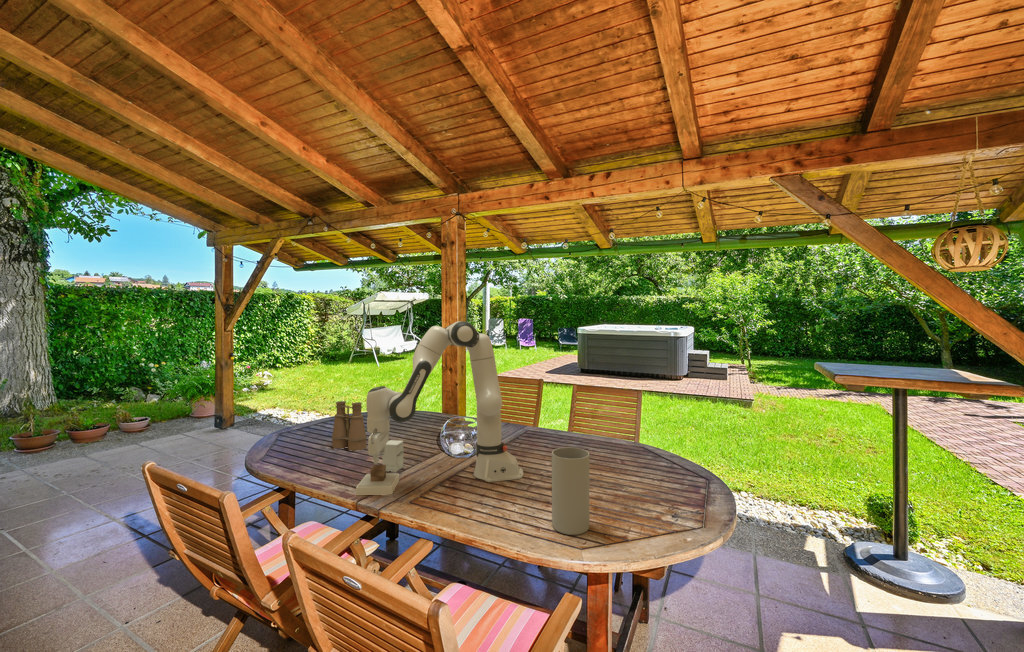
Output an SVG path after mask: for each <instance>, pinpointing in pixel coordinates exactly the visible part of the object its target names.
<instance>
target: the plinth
mask: <svg viewBox="0 0 1024 652" xmlns="http://www.w3.org/2000/svg"><path fill="white" fill-rule="evenodd" d="M398 482H399V483H400V473H398V472H386V478H385V479H384V481H372V482H371V473H366V474H365V476H363V478H362V479H361V480H360V482H359V483H358V484H357V486H356V487H355V496H356V495H381V494H392V493H393V494H394V492H395V490H396V489H395V487H396V485H397V483H398ZM399 483H398V484H399ZM397 486H398V485H397ZM396 488H397V487H396ZM394 489H395V490H394ZM393 491H394V492H393ZM393 494H392V495H393Z"/></svg>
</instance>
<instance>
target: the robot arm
mask: <svg viewBox="0 0 1024 652" xmlns="http://www.w3.org/2000/svg"><path fill="white" fill-rule="evenodd" d="M449 346H454V347H460V348H461V347H465V348H466V349H467V351H468V353H469V361H470V368H471V374H472V380H473V387H474V392H475V399H476V443H475V457H476V459H475V460H476V461H475V466H474V467H475V468H474V471H473V477H475V478H477V479H479V480H483V481H485V482H488V483H493V482H501V481H503V482H505V481H512V480H521V479H522V478H524V469H523V468H522V467H521V466H519V463H518V459H517V458H516V457H515V456H514V455H513V454H511V453H510V452H508V447H507V445H506V443H505V442H503V441H502V413H501V409H502V407H503V399H502V392H501V388H500V381H499V376H498V371H497V363H496V358H495V357H496V356H495V352H494V351H495V350H494V348H493V344H492V341H491V339H490V336H488V335H487V334H486V333H481V332H480V333H479V332H478V331H477V329H476V328H475V327H474V325H472V324H471V323H470V322H468V321H464V320H463V321H460V320H459V321H455V322H453V323H451V324H449V325H448V326H445V327H442V326H439V325H433V326H431V327H430V328H429V329H428V330H427V331H426V332H425V333H424V335H422V337H421V339H420V341H419V342H418V344H417V346H416V348H415V351H414V353H413V356H412V360H411V361H412V372H411V375H410V377H409V379H408V381H407V383H406V384H405V388H404V389H403V391H402V392H401V391H400V392H399V391H395V390H392V389H390V388H388V387H387V386H385V385H380V386H376V387H373V388H371V389H370V390H369V391H368V392H367V394H366V405H365V406H366V412H367V417H366V431H367V433H370V435H369V436H368V442H367V454H368V456H370V457H371V456H372V459H373V464H374V465H379V462H380V457H382V456H384V454H385V445H386V443H387V442H388V441H389V439H390V426H391V420H390V418H391V419H392V420H393V421H395V422H397V423H405V422H408V421H410V420H411V419H412V418H413V417H414V416H415V413H416V408H417V402H418V398H419V396H420V394H421V392H422V390H423V388H424V385H425V384H426V381H427V380H428V378H429V376H430V375H431V373H432V372H433V370H434V368H435V367H436V366H437V364H438V363H439V361H440V360H441V357H442V356H443V353H444V352H445V350H446V349H447V348H448V347H449ZM379 456H380V457H379Z"/></svg>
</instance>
